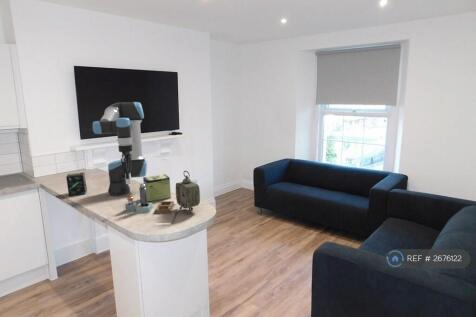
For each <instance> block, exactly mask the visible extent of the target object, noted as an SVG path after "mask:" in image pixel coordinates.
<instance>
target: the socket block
mask: <svg viewBox="0 0 476 317" xmlns="http://www.w3.org/2000/svg"><path fill="white" fill-rule="evenodd" d="M147 203H148V207H141V202H139V203H138V204H137V202H135V201H133V205H128V202H127V203H126V204H125V212H124V215H136V214H137V215H139V214H142V215H143V214H147V215H148V214H151V213H152V210H153V209H154V208H155V205H153V202H147Z"/></svg>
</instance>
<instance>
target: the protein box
mask: <svg viewBox="0 0 476 317" xmlns="http://www.w3.org/2000/svg"><path fill="white" fill-rule="evenodd" d="M170 178H171V177H170V176H168V175H167V174H165V173H164V174H158V175H151V176H144V177H142V179H143V180H142V181H143V184H145V187H146V191H147V203H153V202H155V201H156V202H157V201H163V200H168V199H169V200H170V199H172V197H171V196H172V195H171V182H170V181H171V180H170Z"/></svg>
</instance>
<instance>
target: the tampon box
mask: <svg viewBox="0 0 476 317" xmlns="http://www.w3.org/2000/svg"><path fill="white" fill-rule="evenodd" d="M65 178H66V185H67V192H68V196H69V197H73V196H74V197H75V196H81V195H86V194H87V192H88V190H87V182H86V174H85V171H84V172H76V173H75V172H73V173H68V174H67V175H66V176H65Z"/></svg>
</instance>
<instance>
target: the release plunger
mask: <svg viewBox="0 0 476 317" xmlns="http://www.w3.org/2000/svg"><path fill="white" fill-rule="evenodd" d="M134 199H135V196H134V195H133V196H132V195H129V196H127V197H126V200H127V203H128V205H133V202H134Z"/></svg>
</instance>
